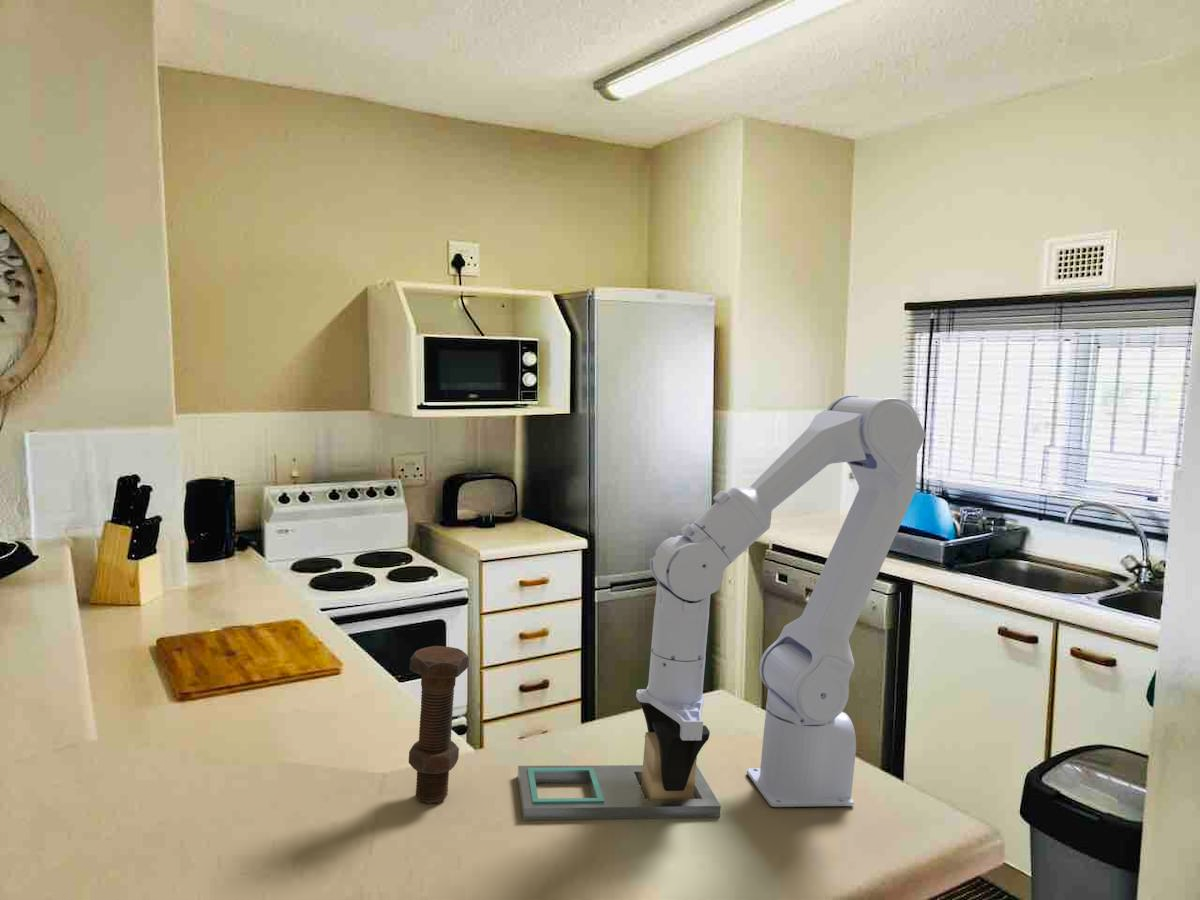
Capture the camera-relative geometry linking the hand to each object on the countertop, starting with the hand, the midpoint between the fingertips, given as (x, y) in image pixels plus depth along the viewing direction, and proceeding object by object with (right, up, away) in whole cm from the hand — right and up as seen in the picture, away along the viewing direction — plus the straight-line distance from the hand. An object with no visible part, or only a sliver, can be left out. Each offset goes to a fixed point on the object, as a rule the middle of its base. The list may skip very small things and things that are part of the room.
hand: (667, 777), depth 89 cm
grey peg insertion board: (-6, -2, -1) cm, 6 cm away
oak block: (0, -2, 0) cm, 2 cm away
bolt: (-24, -1, -4) cm, 25 cm away
